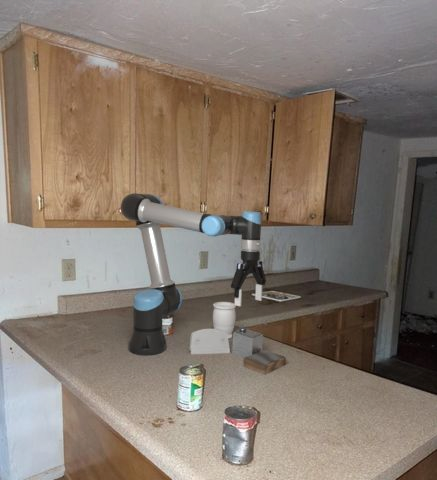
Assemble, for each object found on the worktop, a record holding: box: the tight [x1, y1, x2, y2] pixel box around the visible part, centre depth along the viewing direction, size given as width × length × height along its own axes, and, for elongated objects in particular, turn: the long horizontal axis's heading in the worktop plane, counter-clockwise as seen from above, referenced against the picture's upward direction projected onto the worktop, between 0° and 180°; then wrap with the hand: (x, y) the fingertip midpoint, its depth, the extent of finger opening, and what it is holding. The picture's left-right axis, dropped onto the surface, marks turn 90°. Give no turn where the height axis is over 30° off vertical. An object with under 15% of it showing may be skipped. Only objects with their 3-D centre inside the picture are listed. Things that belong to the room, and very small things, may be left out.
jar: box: [212, 301, 237, 340], centre depth 175 cm, size 11×10×15 cm
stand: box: [242, 349, 287, 376], centre depth 144 cm, size 13×10×3 cm
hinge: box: [188, 328, 231, 355], centre depth 158 cm, size 17×5×10 cm, turn 100°
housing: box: [232, 326, 264, 359], centre depth 154 cm, size 6×10×11 cm, turn 46°
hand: (248, 302), depth 154 cm, fingers open, 13 cm apart
